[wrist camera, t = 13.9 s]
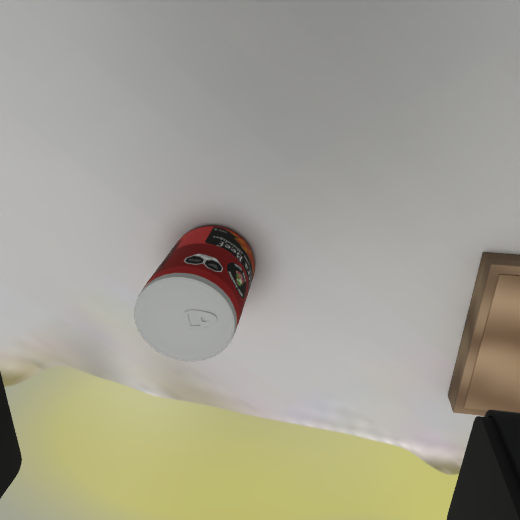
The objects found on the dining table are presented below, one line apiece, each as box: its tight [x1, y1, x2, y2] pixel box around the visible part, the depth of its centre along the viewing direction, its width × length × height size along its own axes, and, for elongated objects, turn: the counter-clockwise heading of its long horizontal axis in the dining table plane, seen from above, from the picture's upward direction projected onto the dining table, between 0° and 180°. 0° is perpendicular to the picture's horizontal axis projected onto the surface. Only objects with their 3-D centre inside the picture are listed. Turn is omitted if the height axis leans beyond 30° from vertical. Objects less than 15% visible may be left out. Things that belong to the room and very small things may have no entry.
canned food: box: [134, 226, 255, 361], centre depth 42 cm, size 8×8×11 cm
